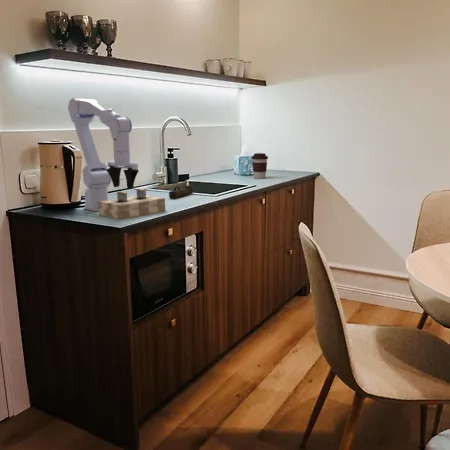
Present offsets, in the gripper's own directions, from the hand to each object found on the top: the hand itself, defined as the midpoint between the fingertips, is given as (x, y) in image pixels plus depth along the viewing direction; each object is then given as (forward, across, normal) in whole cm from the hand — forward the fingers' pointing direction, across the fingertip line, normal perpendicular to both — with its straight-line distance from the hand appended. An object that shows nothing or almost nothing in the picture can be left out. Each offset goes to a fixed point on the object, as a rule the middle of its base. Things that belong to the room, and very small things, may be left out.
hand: (123, 187), depth 175 cm
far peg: (+6, 0, +9) cm, 11 cm away
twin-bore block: (+10, 0, +5) cm, 11 cm away
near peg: (+6, -1, 0) cm, 6 cm away
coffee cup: (+11, -20, +126) cm, 128 cm away
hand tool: (+11, -13, +46) cm, 49 cm away
